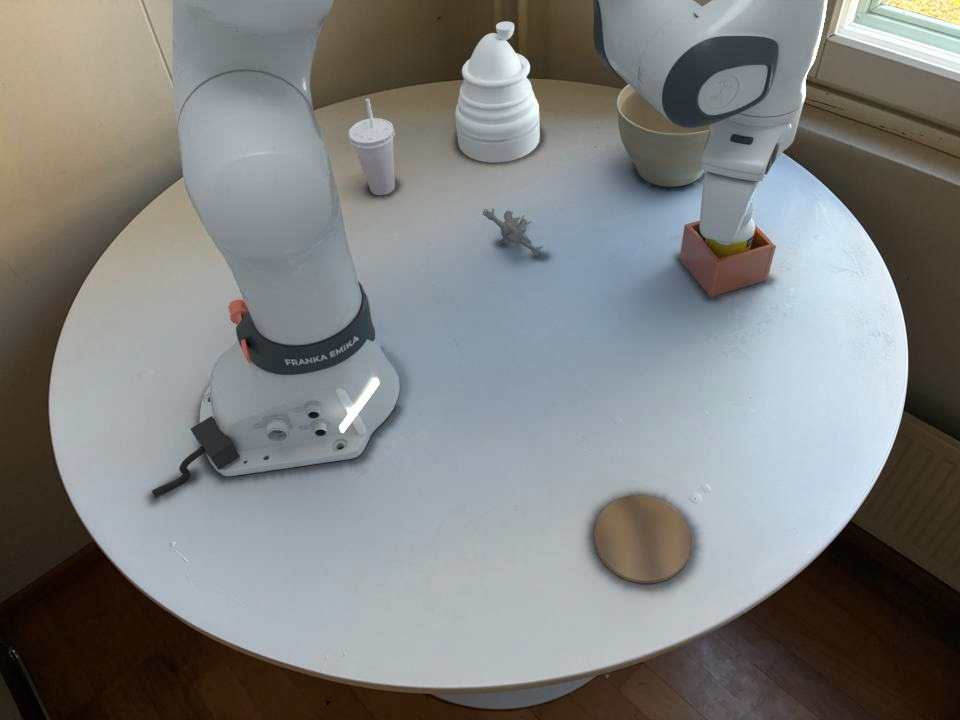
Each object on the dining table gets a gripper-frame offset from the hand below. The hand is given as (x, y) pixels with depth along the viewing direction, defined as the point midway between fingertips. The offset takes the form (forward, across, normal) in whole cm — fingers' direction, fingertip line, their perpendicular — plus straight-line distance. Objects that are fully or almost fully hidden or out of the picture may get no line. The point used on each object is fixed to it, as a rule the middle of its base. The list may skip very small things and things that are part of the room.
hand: (731, 224), depth 91 cm
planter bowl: (+7, -18, -13) cm, 24 cm away
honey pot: (+7, -17, -40) cm, 44 cm away
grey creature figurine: (+7, +6, -27) cm, 28 cm away
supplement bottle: (+7, 0, 0) cm, 7 cm away
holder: (+7, 0, 0) cm, 7 cm away
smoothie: (+7, +1, -50) cm, 51 cm away
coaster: (+7, +40, +3) cm, 41 cm away
